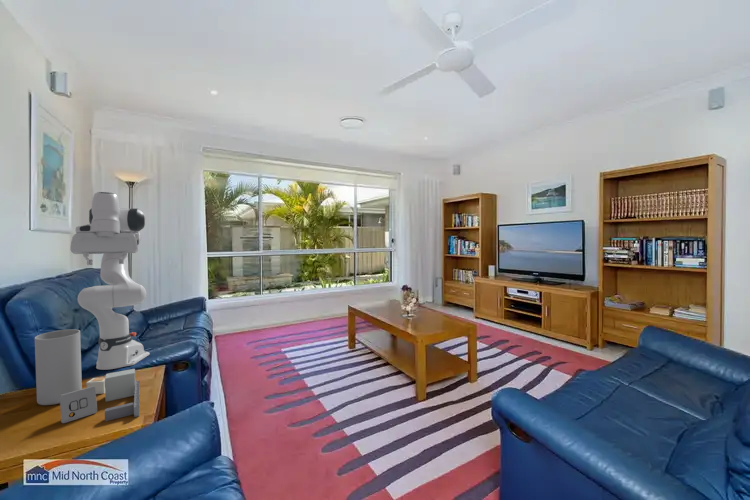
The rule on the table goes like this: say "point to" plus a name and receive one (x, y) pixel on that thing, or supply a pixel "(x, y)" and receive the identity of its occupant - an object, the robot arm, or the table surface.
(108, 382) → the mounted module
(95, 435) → the table surface
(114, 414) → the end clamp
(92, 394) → the electrical switch
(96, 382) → the block
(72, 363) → the cylinder vase
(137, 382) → the rail
